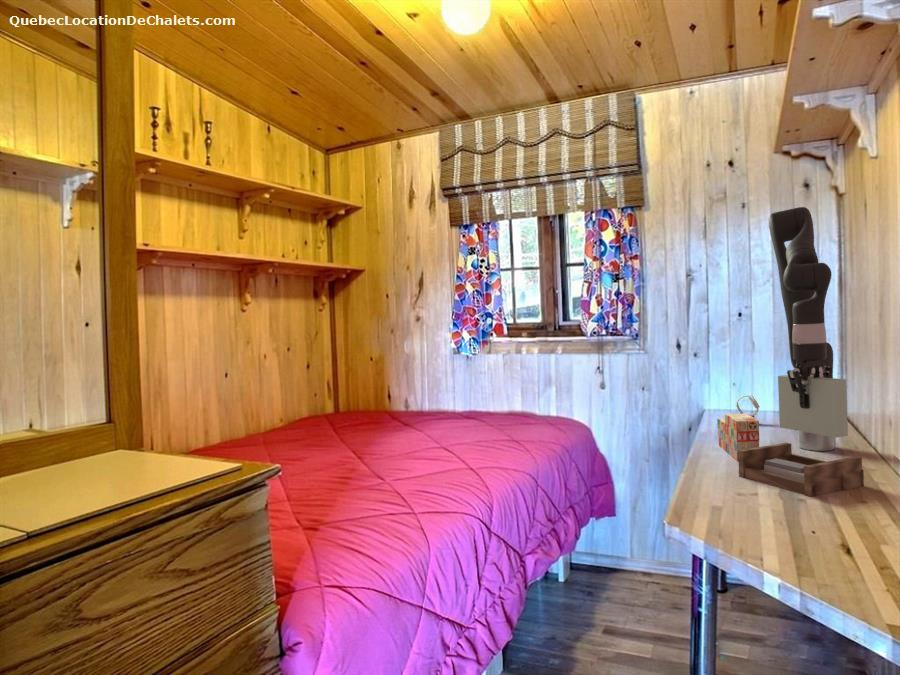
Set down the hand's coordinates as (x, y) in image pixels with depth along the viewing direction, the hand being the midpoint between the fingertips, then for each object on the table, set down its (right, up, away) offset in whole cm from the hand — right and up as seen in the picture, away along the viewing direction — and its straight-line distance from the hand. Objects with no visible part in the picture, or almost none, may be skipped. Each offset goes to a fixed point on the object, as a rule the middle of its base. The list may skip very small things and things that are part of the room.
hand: (811, 406), depth 154 cm
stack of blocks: (-4, -18, +31) cm, 36 cm away
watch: (+21, -16, +75) cm, 79 cm away
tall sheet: (0, -6, 0) cm, 6 cm away
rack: (-4, -19, -1) cm, 19 cm away
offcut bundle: (-6, -19, -2) cm, 20 cm away
